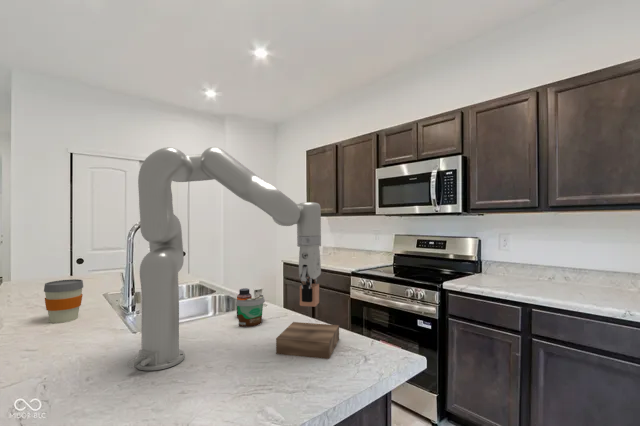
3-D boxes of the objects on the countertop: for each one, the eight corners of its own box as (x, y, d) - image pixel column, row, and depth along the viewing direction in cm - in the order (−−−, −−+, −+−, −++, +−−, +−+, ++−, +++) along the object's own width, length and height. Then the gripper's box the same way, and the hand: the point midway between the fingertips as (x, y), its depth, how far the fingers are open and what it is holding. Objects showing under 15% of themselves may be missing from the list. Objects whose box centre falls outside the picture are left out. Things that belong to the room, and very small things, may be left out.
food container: (246, 330, 119) (246, 302, 119) (235, 327, 122) (235, 300, 123) (271, 321, 128) (271, 296, 129) (260, 319, 132) (260, 293, 132)
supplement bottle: (244, 320, 131) (244, 291, 131) (233, 317, 134) (233, 289, 134) (254, 316, 136) (254, 288, 136) (244, 314, 139) (244, 287, 139)
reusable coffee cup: (88, 318, 134) (89, 281, 135) (51, 326, 124) (51, 286, 124) (75, 313, 141) (75, 278, 141) (38, 321, 130) (38, 283, 131)
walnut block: (328, 360, 94) (328, 342, 94) (276, 355, 98) (276, 338, 98) (339, 340, 110) (339, 325, 110) (293, 336, 114) (293, 321, 114)
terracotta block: (315, 306, 101) (315, 286, 101) (299, 305, 102) (299, 286, 102) (319, 302, 106) (319, 283, 106) (304, 301, 107) (304, 283, 107)
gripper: (314, 243, 95) (314, 307, 95) (326, 239, 112) (326, 293, 112) (289, 243, 97) (289, 305, 97) (305, 239, 114) (305, 292, 113)
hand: (309, 298), depth 104 cm, fingers closed on terracotta block, 5 cm apart
